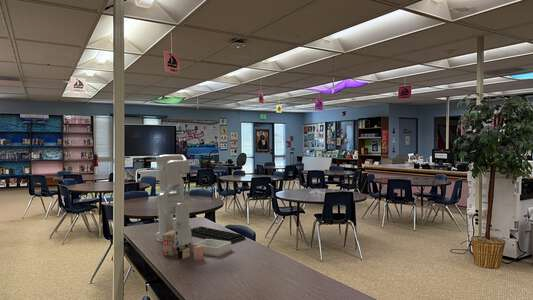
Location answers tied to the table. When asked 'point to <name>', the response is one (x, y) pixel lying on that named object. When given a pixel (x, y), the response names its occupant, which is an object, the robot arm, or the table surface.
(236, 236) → the computer keyboard
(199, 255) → the smooth tan pebble
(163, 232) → the robot arm
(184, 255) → the cube
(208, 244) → the tote
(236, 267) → the table surface
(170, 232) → the stack of blocks
